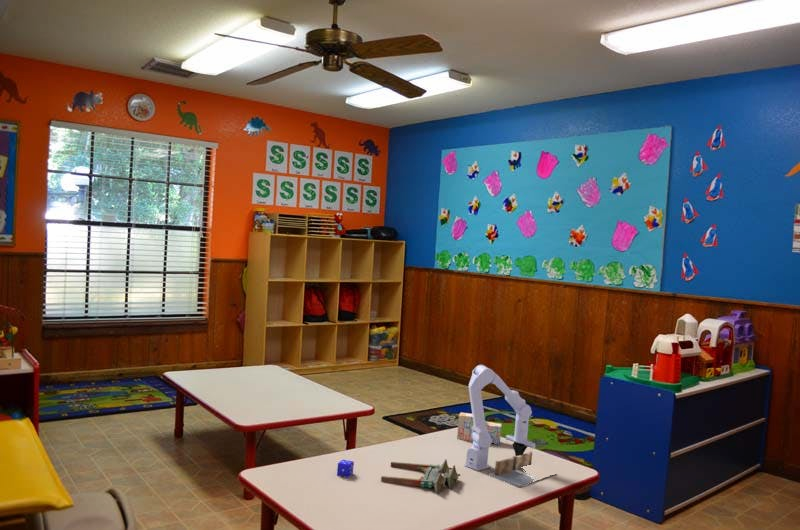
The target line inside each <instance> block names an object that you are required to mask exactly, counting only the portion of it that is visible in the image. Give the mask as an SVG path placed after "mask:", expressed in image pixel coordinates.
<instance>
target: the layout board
mask: <svg viewBox="0 0 800 530" xmlns="http://www.w3.org/2000/svg"><path fill="white" fill-rule="evenodd" d="M523 470H524V469H523V468H521V467H520V468H517V469H515V470H513V471H510V472H507V473H503V474H500V475H498V476H496V475H495V471H492V472H490V473H487V475H488V476H489V475H490V476H489V477H492V476H493V477H492V478H494V477H495V479H497V478H498V479H497V480H499V479H500V480H499V481H502V480H503V481H502V482H504V481H505V482H504V483H506V482H508V483H507V484H509V483H510V485H511V484H513V485H512V486H514V485H515V486H514V487H516V486H518V487H517V488H519V487H520V488H522V487H521V486H523V485H526V484H528V483H530V482H533V480H534V479H537V478H536V477H533V476H531V475H530V474H529V475H528V474H527V473H525V472H526V471H525V470H524V471H525V472H524V471H523ZM529 476H530V477H529ZM531 477H533V478H534V479H531ZM528 485H529V484H528ZM526 486H527V485H526ZM523 487H524V486H523Z"/></svg>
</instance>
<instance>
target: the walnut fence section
mask: <svg viewBox="0 0 800 530" xmlns="http://www.w3.org/2000/svg"><path fill="white" fill-rule="evenodd" d="M494 468H495V469H494V472H495V475H496V476H498V475H500V474H503V473H507V472H510V471H513V470H515V468H516V455H513V456H512V457H509V458H505V459H502V460H499V461H498V460H496V461H495V467H494Z"/></svg>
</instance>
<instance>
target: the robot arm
mask: <svg viewBox="0 0 800 530" xmlns="http://www.w3.org/2000/svg"><path fill="white" fill-rule="evenodd" d="M471 373H472V374H471V377H470V380H469V383H468V393H469V394H468V395H469V401H470V406H471V407H470V409H471V414H472V416H473V423H474V425H473V426H472V434H471V437H472V439H473V441H472V446H471V447H470V448H468V449H467V451H466V457H465V459H466V460H465V464H464V466H465V467H467V468H470V469H473V470H474V471H478V472H479V471H483V470H486V469H489V468H491V467H492V465H490V464H488V462H489V461H488V460H489V451H490V446H492V444H491V442H492V439H491V437H490V435H489V433H488V429H487V427H486V424H485V422H486V417H485V411H484V410H485V409H484V405H483V396H482V390H483V389H484V388H485V386H487V385H489V384H492V385H495V387H497V389H498V390H500V391H501V392H502V393H503V394H504V399H505V401H506V402H507V403H508V404H509V405H510V406H511V408H512V409H513V410H514V411H513V412H515V413H516V414H515V425H514V433H513V434H514V435H512V434H507V435H505V440H507V441H511V442H513V443H512V444H511V446H512V448H513V450H514V454H515V455H514V456H515V457H516V456H519V455H522V454H525V452H526V449H527V448H530V449H533V450H534V449H535V448H536V443H535V442H532V441H530V440H529V439H528V434H529V433H528V432H529V421H530V417H531V416H532V413H533V410H532V407H531V406H530V405H529V404H527V403H526V400H525V399H524V398H522V397H521V396H520V393H519V392H518V391H517V390H512V389H510V387H509V386H507V384H506V383H505V382H504V381H503V379H502V378H501V377H500V376H499V375H498V374H497V373H496V372H494V370H493V369H492V368H489V367H487V366H485V365H484V364H479V365H477V366H475V368H474V369H473V370H472V371H471Z"/></svg>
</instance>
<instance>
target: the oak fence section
mask: <svg viewBox="0 0 800 530" xmlns="http://www.w3.org/2000/svg"><path fill="white" fill-rule="evenodd" d="M515 457H516V468H515V469H517V468H520V467H523V466H527V465H531V464H532V462H533V461H532V459H533V452H532V451H528V452H527V453H523V454H522V455H519V456H516V455H515Z"/></svg>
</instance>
